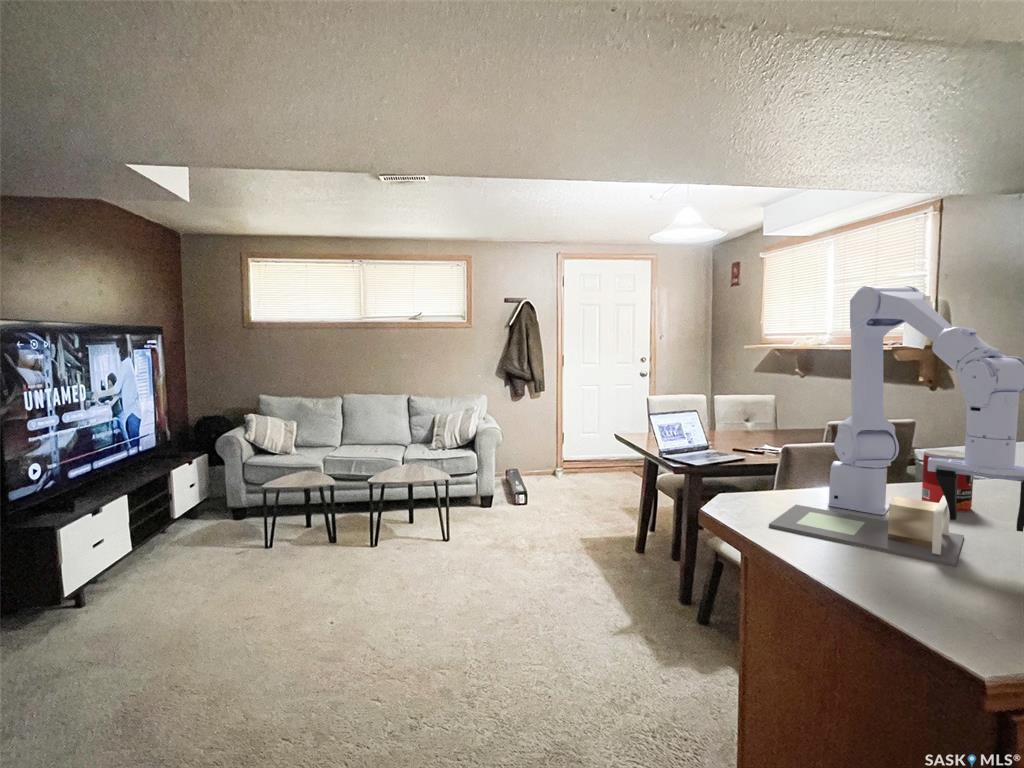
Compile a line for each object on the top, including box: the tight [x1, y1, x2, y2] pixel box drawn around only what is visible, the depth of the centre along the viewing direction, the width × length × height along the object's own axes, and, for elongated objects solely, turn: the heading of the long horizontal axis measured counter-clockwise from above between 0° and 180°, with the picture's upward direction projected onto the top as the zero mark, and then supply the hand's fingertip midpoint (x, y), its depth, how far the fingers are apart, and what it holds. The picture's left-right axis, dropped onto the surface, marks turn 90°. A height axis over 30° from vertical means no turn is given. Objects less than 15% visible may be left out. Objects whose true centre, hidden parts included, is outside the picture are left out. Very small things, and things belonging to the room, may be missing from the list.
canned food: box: [921, 449, 974, 512], centre depth 107 cm, size 8×8×11 cm
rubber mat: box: [768, 504, 965, 568], centre depth 93 cm, size 26×16×1 cm, turn 46°
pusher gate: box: [932, 496, 950, 555], centre depth 85 cm, size 1×13×6 cm, turn 136°
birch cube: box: [887, 495, 939, 548], centre depth 88 cm, size 6×6×6 cm
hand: (985, 524), depth 82 cm, fingers open, 7 cm apart
